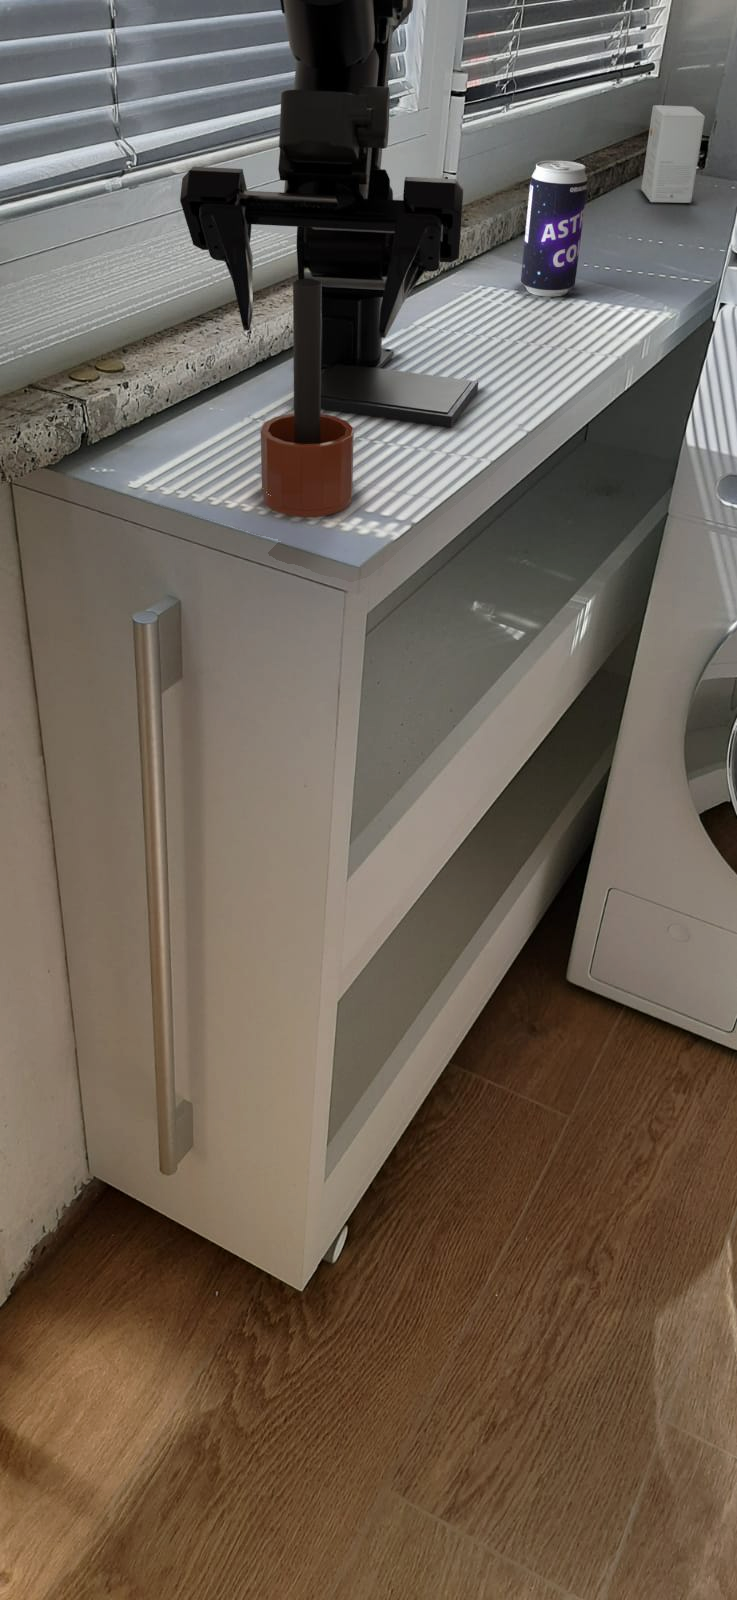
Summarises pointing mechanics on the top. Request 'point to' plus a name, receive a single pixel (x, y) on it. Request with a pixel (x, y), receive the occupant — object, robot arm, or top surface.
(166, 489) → the top surface
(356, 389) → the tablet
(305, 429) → the stylus
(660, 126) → the small box
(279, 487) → the pencil cup
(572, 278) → the beverage can
